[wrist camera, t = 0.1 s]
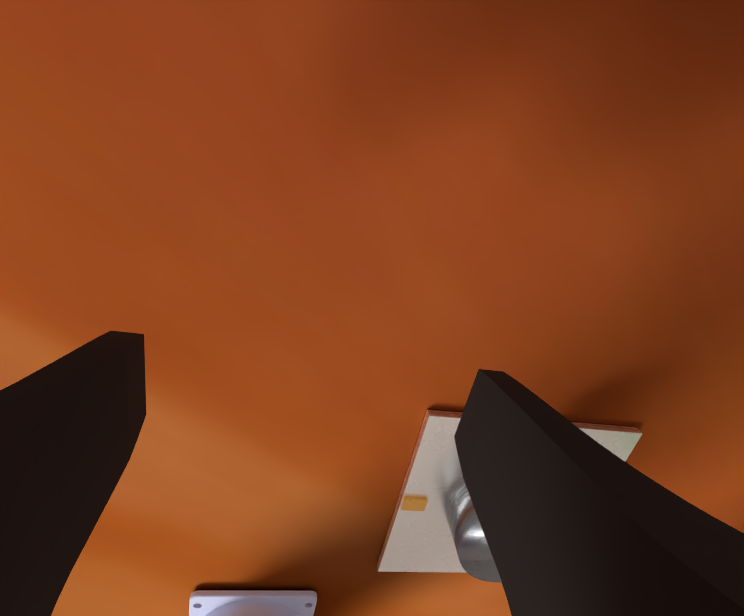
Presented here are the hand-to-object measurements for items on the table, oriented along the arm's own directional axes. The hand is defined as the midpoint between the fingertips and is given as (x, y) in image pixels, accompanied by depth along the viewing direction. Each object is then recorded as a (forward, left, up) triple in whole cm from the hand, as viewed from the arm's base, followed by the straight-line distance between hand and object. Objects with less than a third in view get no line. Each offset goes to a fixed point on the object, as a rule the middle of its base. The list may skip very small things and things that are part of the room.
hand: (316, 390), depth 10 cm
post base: (-15, -14, -10) cm, 22 cm away
